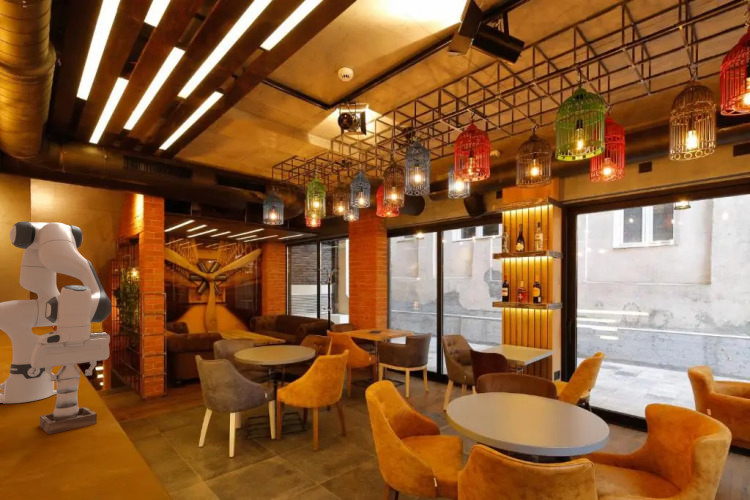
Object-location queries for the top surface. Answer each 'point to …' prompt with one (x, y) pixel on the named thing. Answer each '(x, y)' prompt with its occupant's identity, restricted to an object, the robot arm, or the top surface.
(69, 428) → the walnut tray
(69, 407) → the silver metal bottle
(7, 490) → the top surface
